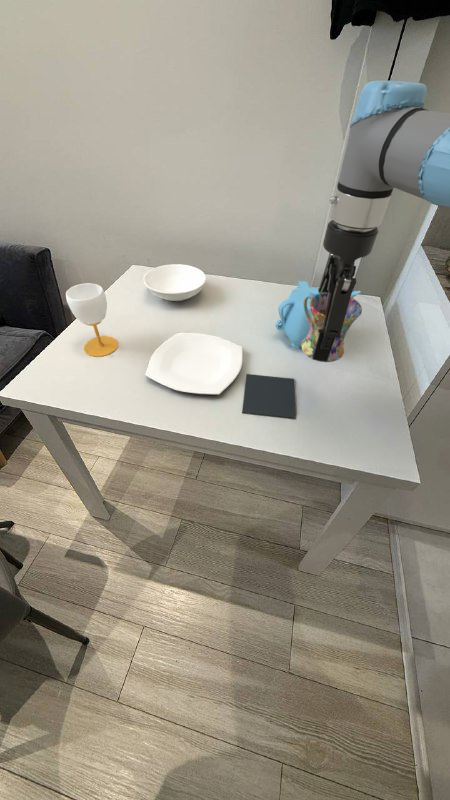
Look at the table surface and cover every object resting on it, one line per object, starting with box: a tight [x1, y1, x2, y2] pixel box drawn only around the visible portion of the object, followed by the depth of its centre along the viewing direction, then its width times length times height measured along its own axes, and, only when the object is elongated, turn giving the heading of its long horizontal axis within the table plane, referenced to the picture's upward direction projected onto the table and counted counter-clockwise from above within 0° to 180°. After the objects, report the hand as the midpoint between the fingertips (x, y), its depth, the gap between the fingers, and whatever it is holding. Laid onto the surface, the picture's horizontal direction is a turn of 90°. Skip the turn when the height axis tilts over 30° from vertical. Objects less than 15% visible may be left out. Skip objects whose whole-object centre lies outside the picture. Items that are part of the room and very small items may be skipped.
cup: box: [65, 282, 119, 358], centre depth 83 cm, size 9×9×16 cm
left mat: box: [241, 373, 297, 420], centre depth 77 cm, size 13×12×1 cm
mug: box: [300, 292, 363, 363], centre depth 63 cm, size 12×9×11 cm
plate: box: [145, 332, 244, 396], centre depth 83 cm, size 23×23×2 cm
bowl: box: [142, 263, 207, 302], centre depth 106 cm, size 20×20×6 cm
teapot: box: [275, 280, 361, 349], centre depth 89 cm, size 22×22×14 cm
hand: (318, 344), depth 66 cm, fingers closed on mug, 9 cm apart
